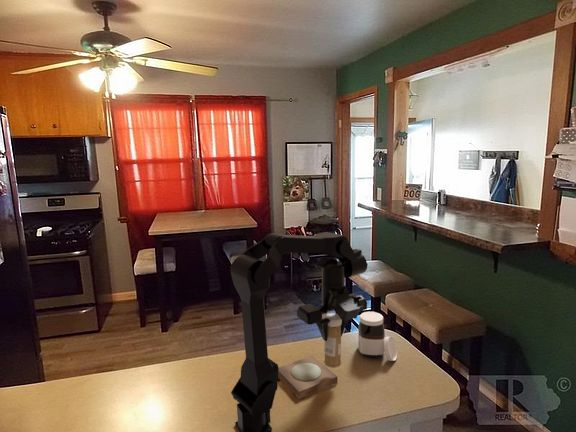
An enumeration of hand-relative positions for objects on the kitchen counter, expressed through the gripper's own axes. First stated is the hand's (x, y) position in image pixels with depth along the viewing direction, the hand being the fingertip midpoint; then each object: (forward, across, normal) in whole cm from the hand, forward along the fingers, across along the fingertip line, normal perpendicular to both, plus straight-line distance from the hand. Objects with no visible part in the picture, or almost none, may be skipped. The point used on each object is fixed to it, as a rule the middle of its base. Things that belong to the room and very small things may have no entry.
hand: (332, 338), depth 98 cm
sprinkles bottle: (+8, 0, 0) cm, 8 cm away
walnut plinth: (+13, -5, +5) cm, 14 cm away
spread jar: (+12, +20, +4) cm, 24 cm away
